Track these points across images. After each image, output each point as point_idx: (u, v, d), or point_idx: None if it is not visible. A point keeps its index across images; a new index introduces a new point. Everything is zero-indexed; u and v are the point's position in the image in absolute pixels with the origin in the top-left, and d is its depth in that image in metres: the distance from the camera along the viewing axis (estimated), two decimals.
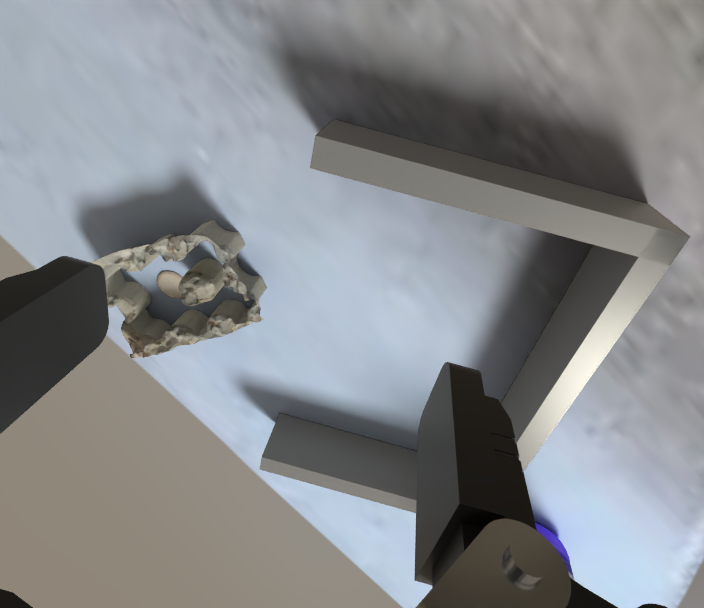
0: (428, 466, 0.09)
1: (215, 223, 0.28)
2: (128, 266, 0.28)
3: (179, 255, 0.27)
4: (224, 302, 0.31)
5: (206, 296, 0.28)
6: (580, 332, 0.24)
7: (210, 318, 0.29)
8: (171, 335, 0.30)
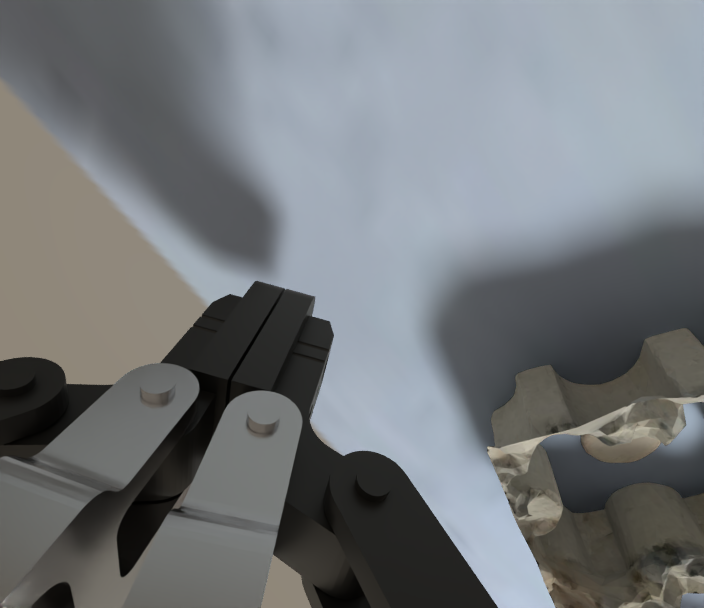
0: None
1: None
2: (632, 435, 0.10)
3: None
4: None
5: None
6: None
7: None
8: None
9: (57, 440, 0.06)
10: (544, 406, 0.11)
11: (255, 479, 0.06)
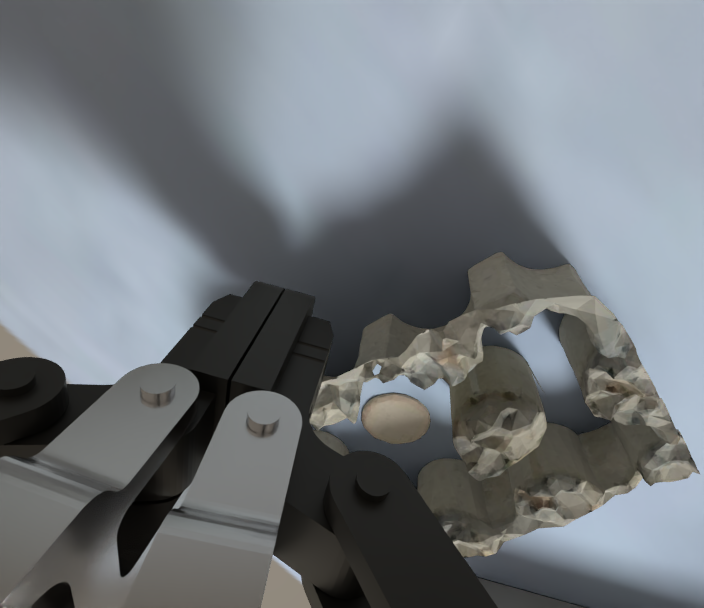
0: None
1: (508, 258, 0.11)
2: (323, 418, 0.11)
3: (466, 366, 0.10)
4: None
5: (529, 448, 0.11)
6: None
7: (536, 492, 0.12)
8: None
9: (56, 440, 0.06)
10: None
11: (255, 478, 0.06)
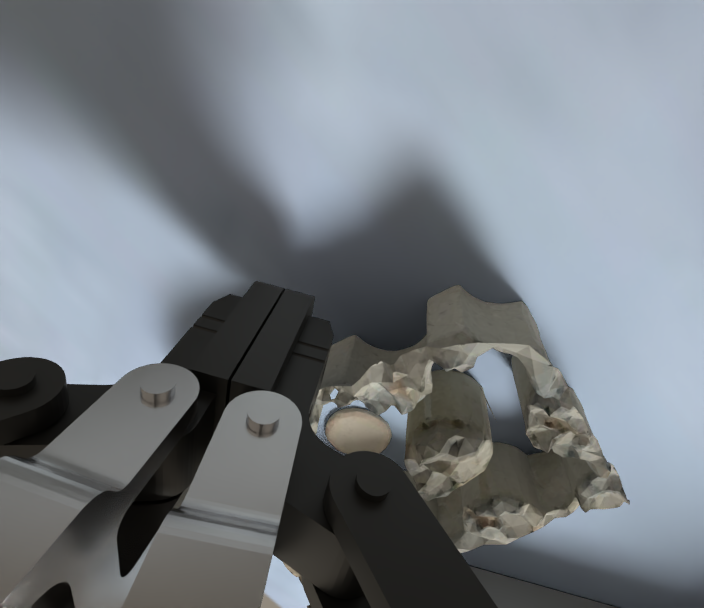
0: None
1: (465, 293, 0.11)
2: None
3: (416, 396, 0.10)
4: None
5: (475, 471, 0.12)
6: None
7: (481, 513, 0.12)
8: None
9: (57, 440, 0.06)
10: None
11: (255, 479, 0.06)
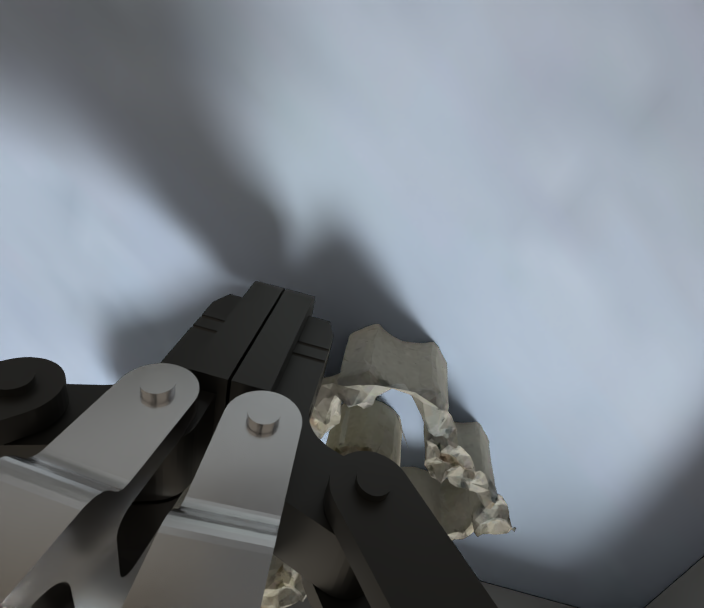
0: None
1: (382, 331, 0.12)
2: None
3: (325, 426, 0.11)
4: None
5: None
6: None
7: None
8: None
9: (56, 440, 0.06)
10: None
11: (255, 479, 0.06)
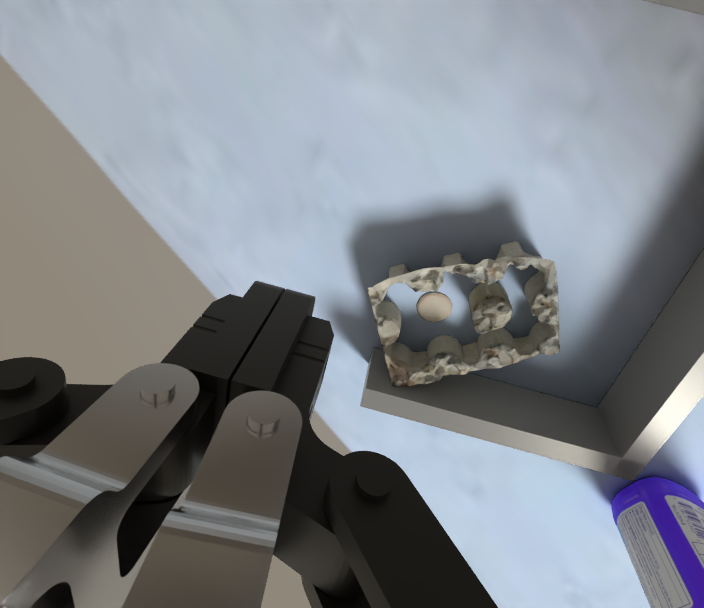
0: None
1: (519, 245, 0.26)
2: (423, 285, 0.25)
3: (496, 278, 0.24)
4: (493, 330, 0.28)
5: (501, 324, 0.26)
6: None
7: (494, 347, 0.27)
8: (439, 363, 0.27)
9: (56, 440, 0.06)
10: (395, 275, 0.26)
11: (255, 478, 0.06)
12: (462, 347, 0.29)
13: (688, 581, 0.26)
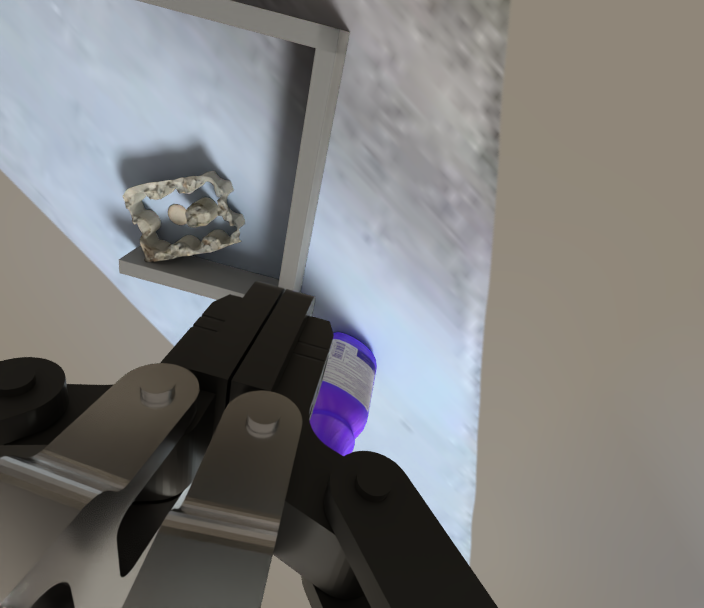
0: None
1: (215, 173, 0.42)
2: (152, 194, 0.41)
3: (189, 189, 0.40)
4: (214, 230, 0.44)
5: (203, 221, 0.42)
6: None
7: (204, 238, 0.43)
8: (175, 248, 0.44)
9: (57, 440, 0.06)
10: None
11: (255, 479, 0.06)
12: (201, 243, 0.46)
13: None
